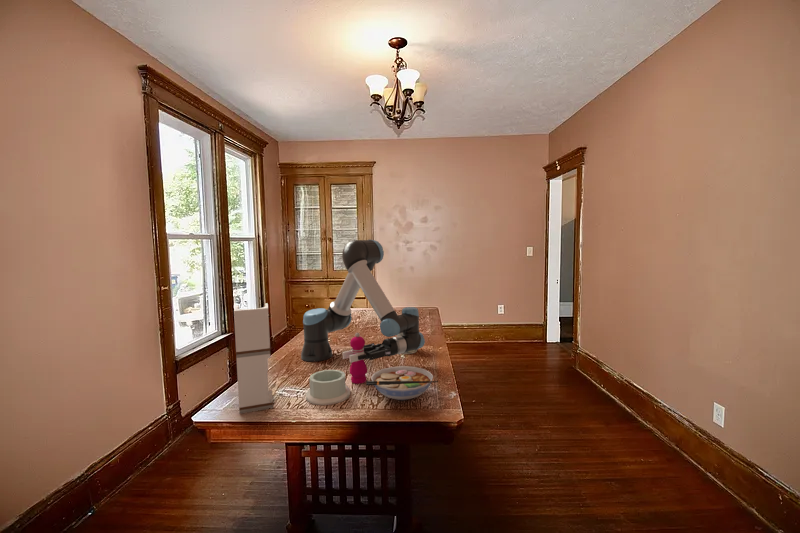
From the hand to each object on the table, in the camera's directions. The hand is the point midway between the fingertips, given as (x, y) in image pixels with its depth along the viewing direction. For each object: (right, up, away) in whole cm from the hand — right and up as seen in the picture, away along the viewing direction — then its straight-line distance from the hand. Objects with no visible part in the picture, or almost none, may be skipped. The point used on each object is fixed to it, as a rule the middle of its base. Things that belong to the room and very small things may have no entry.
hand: (346, 357), depth 145 cm
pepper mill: (+4, -11, +4) cm, 12 cm away
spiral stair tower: (-30, -13, -15) cm, 36 cm away
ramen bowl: (+22, -12, -12) cm, 28 cm away
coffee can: (+25, -8, +43) cm, 50 cm away
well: (-5, -12, -10) cm, 16 cm away
